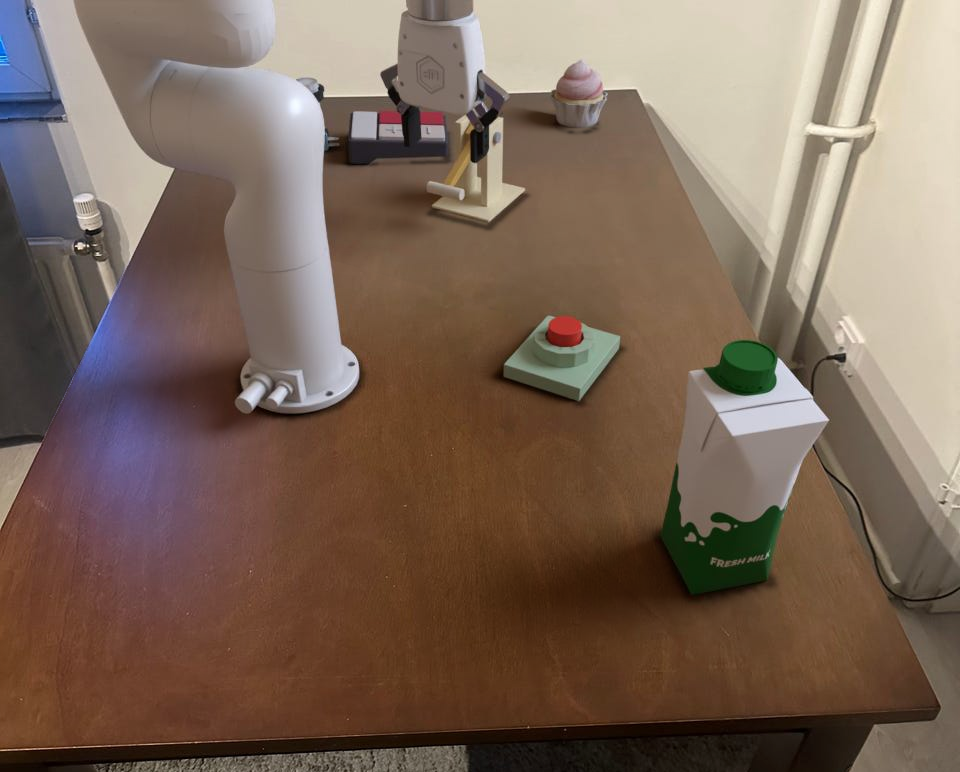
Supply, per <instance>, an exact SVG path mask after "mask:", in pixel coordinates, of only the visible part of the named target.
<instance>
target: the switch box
mask: <svg viewBox="0 0 960 772" xmlns="http://www.w3.org/2000/svg"><path fill="white" fill-rule="evenodd" d="M554 318H556V317H555V316H552V315H547V316H546V317H545V318H544V319H543V320H542V321H541V322H540V324H539V325H537V327H536V328H535V329H534V330H533V331H532V332H531V334H529V335H528V336H527V338H526V339H525V340H524V342H522V343H521V344H520V345H519V347H518V348H517V349H516V350H515V351H514V352H513V354H511V356H510V357H509V358H508V359H507V360H506V361H505V362H504V364H503V378H506V379H509V380H512V381H515V382H518V383H521V384H525V385H528V386H531V387H534V388H537V389H539V390H543V391H546V392H549V393H553V394H555V395H558V396H562V397H565V398H568V399H571V400H574V401H577V402H580V401H581V399H583V397H584V395H585V394H586V393H587V391H588V390H589V389H590V388H591V386H592V385H593V384H594V383H595V381H596V380H597V378H599V376H600V375H601V373H602V372H603V370H604V369H605V368H606V366H607V365H608V364H609V362H610V361H611V360H612V358H613V357H614V356H615V354H616V353H617V352H618V351H619V350H620V343H621V335H617V334H614V333H611V332H607V331H604V330H601V329H597V328H593V327H589V326H588V325H586V324H585V323H583V322H580V323H581V324H582V332H581V341H580V343H579V344H578V345H576V346H573V347H558V346H555V345H552V344H550V343H549V341H548V324H549V322H550V321H551V320H552V319H554Z"/></svg>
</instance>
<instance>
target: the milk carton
mask: <svg viewBox="0 0 960 772" xmlns="http://www.w3.org/2000/svg"><path fill="white" fill-rule="evenodd" d="M829 421H830V419H829V418H828V417H827V415H826V414H825V413H824V412H823V411H822V409H821V408H820V407H819V406H818V405H817V403H816V402H815V401H814V396H813V395H812V394H811V393H810V391H809V390H808V389H807V388H806V387H804V385H802V383H801V382H800V381H799V379H798V378H797V377H796V376H795V374H794V373H793V372H792V371H791V370H790V369H789V368H788V367H787V366H786V364H785V363H784V362H783V360H781V358H779V357H778V355H777V353H776V351H775V350H774V349H773V348H771V347H770V346H768V345H767V344H765V343H762V342H760V341H757V340H751V339H737V340H733V341H730V342H729V343H727V344H725V345H724V347H723V349H722V350H721V354H720V358H719V363H718V364H716V365H714V366H707V367H703V369H695V370H690V371H688V375H687V387H686V400H685V413H684V422H683V430H682V434H681V440H680V444H679V449H678V453H677V459H676V463H675V468H674V473H673V477H672V482H671V487H670V492H669V495H668V496H669V497H668V501H667V505H666V511H665V514H664V519H663V523H662V527H661V531H660V538H661V540H662V542H663V543H664V546H665V547H666V549H667V550H668V553H669V555H670V557H671V559H672V560H673V563H674V564H675V566H676V568H677V570H678V572H679V574H680V575H681V578H682V579H683V581H684V584H685V585H686V587H687V589H688V591H689V592H690V595H691V596H695V595H700V594H704V593H705V594H706V593H711V592H714V591H720V590H725V589H731V588H735V587H740V586H746V585H752V584H756V583H757V584H758V583H763V582H766V581H768V580H769V576H770V570H771V566H772V561H773V557H774V553H775V548H776V545H777V539H778V534H779V531H780V528H781V525H782V522H783V518H784V517H785V513H786V510H787V507H788V504H789V502H790V498H791V496H792V492H793V489H794V486H795V483H796V481H797V478H798V475H799V472H800V469H801V466H802V464H803V461H804V460H805V458H806V456H807V454H808V453H809V451H810V450H811V448H812V447H813V445H814V444H815V442H816V441H817V439H818V437H819V436H820V435H821V433H822V432H823V431H824V429H825V427H826V426H827V425H828V423H829Z"/></svg>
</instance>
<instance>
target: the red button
mask: <svg viewBox="0 0 960 772" xmlns="http://www.w3.org/2000/svg"><path fill="white" fill-rule="evenodd" d="M581 323H582V322H581V321H580V320H578V318H575V317H572V316H567V315H563V316H557V317H556V318H554V319H552V320H551V321H550V322H549V324H548V341H549V343H550V344H552V345H555V346H558V347H573V346H576V345H578V344H579V343H580V341H581V332H582V324H581Z"/></svg>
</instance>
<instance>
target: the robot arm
mask: <svg viewBox="0 0 960 772" xmlns="http://www.w3.org/2000/svg"><path fill="white" fill-rule="evenodd" d="M405 3H406V5H405V6H406V8H407V10H405V11H404V10H403V12H402V13H401V16H400V21H399V29H398V30H399V31H398V39H397V41H398V42H397V63H395V64H393V65H391V66H389V67H387V68H384V69H383V70H382V71H380V74H379V75H380V78H381V81H382V82H383V85H384V87H385V89H386V90H387V96H388V97H389V99H390V100H391V101H392V103H393V104H394V105H395V106H396V107H395V109H396V110H395V111H397V112H398V113H399V114H400V115H401V121H402V134H403V136H404V146H405V147H411V146H412V145H414V144H415V143H417V142H418V141H419V140H421V118H420V112H421V110H420V109H425V110H430V111H433V112H442V113H444V114H447V115H448V114H449V115H454V116H464V115H466V116H467V117H468V119H469V121H470V122H471V124H472V125H473V127H474V129H473V130H471V132H470V160H471V161H472V163H477V164H478V163H479V162H481V159H482V158H484V157H485V156H486V155H487V153H488V151H489V125H490V124H492V123H493V122H494V121H495V120H496V119H497V118H498V117H501V115H502V114H503V110H504V109H505V107H506V106H507V103H508V101H509V99H510V94H509V92H508V91H506V90H505V89H504V88H503V87H501V86H500V85H499V84H498V83H497V82H496V81H494V80H492V78H491V77H489V76H488V75H487V72H486V70H487V69H486V59H485V58H486V57H485V47H484V41H483V33H482V28H481V24H480V19H479V15H478V14H475V13H474V0H405ZM73 5H74V9H75V13H76V17H77V20H78V22H79V25H80V27H81V30H82V31H83V34H84V37H85V39H86V41H87V43H88V46H89V48H90V50H91V53H92V54H93V57H94V58H95V61H96V64H97V65H98V68H99V70H100V71H101V74H102V76H103V79H104V80H105V83H106V85H107V87H108V89H109V91H110V93H111V95H112V98H113V100H114V102H115V104H116V106H117V109H118V111H119V113H120V115H121V117H122V119H123V121H124V123H125V125H126V128H127V129H128V131H129V134H130V135H131V136H132V138H133V140H134V141H135V143H136V144H137V146H138V147H139V148H140V150H141V151H142V152H143V153H144V154H145V155H146V156H147V157H148V158H149V159H151V160H153V162H156V163H158V164H160V165H162V166H165V167H168V168H170V169H175V170H179V171H183V172H186V173H191V174H196V175H201V176H205V177H211V178H214V179H216V180H221V181H225V182H228V183H229V184H231V185H232V186H233V187H234V189H235V196H234V199H233V202H232V204H231V205H230V207H229V210H228V211H227V213H226V216H225V220H224V225H223V236H224V242H225V248H226V251H227V256H228V259H229V264H230V269H231V273H232V278H233V283H234V288H235V291H236V296H237V297H236V298H237V301H238V305H239V311H240V314H241V319H242V324H243V329H244V332H245V337H246V342H247V348H248V351H249V356H250V357H249V358H248V360H247V361H246V362H244V365H243V367H242V368H241V372H240V376H239V377H240V384H241V389H242V391H241V393H240V394H239V395H238V396H237V397H236V398H235V400H234V404H235V407H236V408H237V410H238V411H240V412H241V413H242V414H246V415H247V414H251V413H252V411H253V410H254V409H255V408H256V407H257V406H258V407H259V408H262V409H264V410H267V411H270V412H274V413H279V414H293V415H294V414H295V415H296V414H306V413H312V412H316V411H321V410H323V409H327V408H329V407H331V406H333V405H335V404H337V403H339V402H340V401H342V400H343V399H345V398H347V396H349V395H350V394H351V393H353V390H354V389H355V388H356V386H357V385H358V382H359V379H360V366H359V361H358V358H357V356H356V355H355V354H354V353H353V351H351V350H350V348H348V347H346V346H345V345H343V344H342V340H341V339H342V338H341V330H340V321H339V315H338V309H337V308H338V307H337V301H336V300H337V299H336V293H335V284H334V277H333V269H332V261H331V254H330V245H329V241H328V231H327V226H326V225H327V224H326V218H325V217H326V216H325V206H324V205H325V204H324V190H323V188H324V187H323V186H324V185H323V183H324V182H323V179H324V178H323V175H324V174H323V173H324V157H325V151H324V142H325V128H326V126H325V118H324V114H323V110H322V108H321V104H320V105H319V103H318V101H317V99H316V98H315V96H314V95H313V94H312V93H311V91H310V90H309V89H308V88H307V87H305V86H304V85H303V84H301V83H300V82H298V81H297V80H296V79H295V78H293V77H292V76H289V75H286V74H283V73H281V72H278V71H273V70H270V69H266V68H259V67H254V66H253V65H256V64H257V63H259V62H260V61H262V60H263V59H265V58H266V56H267V55H268V54H269V52H270V51H271V49H272V47H273V45H274V42H275V37H276V30H277V27H276V26H277V25H276V24H277V22H276V13H275V5H274V1H273V0H73ZM486 96H487V97H488V98H490V99H491V101H492V103H491V105H490V108H489V109H488V107H487V105H486V104H485V100H486ZM324 126H325V127H324Z"/></svg>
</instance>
